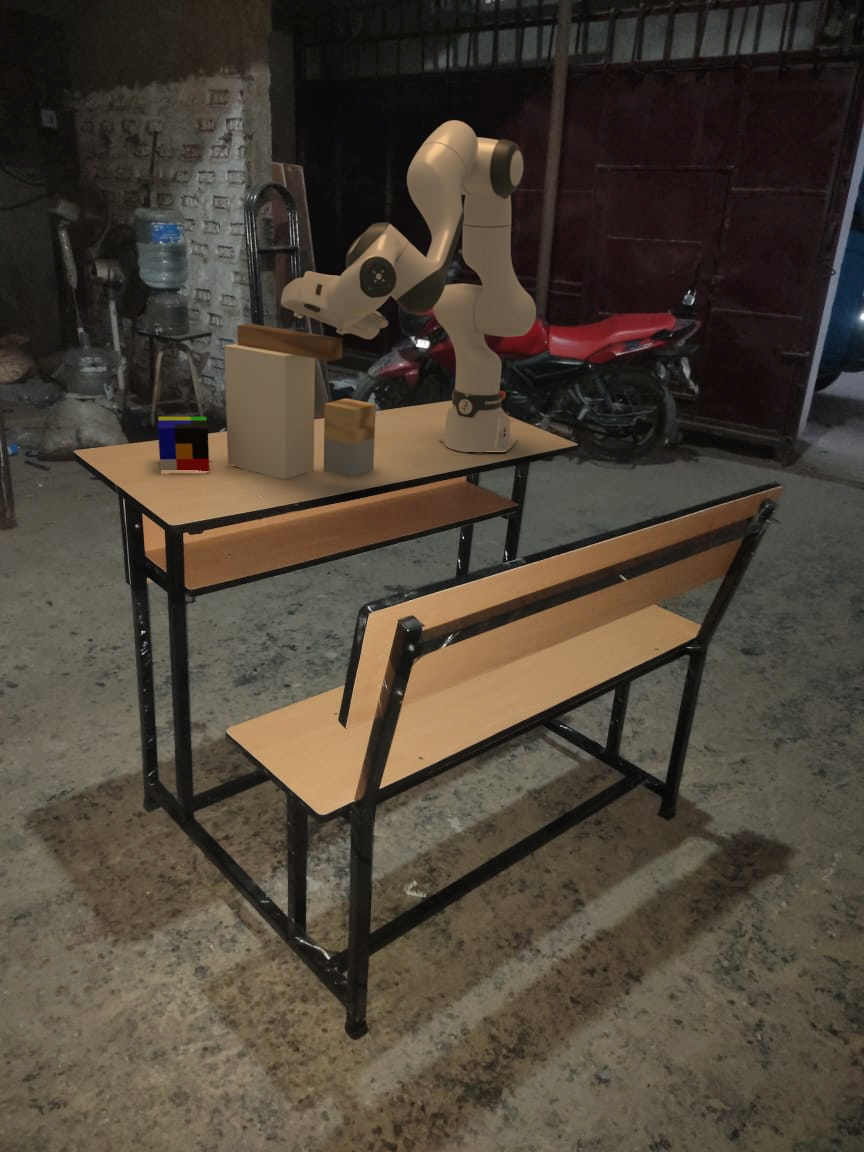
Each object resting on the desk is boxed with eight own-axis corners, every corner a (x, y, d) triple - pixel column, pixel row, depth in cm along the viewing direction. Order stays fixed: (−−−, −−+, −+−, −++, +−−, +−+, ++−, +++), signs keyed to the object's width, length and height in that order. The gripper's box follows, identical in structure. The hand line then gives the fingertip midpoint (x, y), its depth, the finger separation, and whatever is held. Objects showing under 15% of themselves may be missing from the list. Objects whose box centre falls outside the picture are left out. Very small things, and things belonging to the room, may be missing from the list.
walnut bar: (250, 342, 185) (249, 323, 183) (341, 358, 175) (342, 338, 173) (237, 344, 182) (237, 325, 180) (330, 360, 171) (330, 340, 170)
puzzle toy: (160, 474, 181) (157, 428, 177) (161, 461, 190) (158, 416, 186) (209, 473, 184) (207, 428, 180) (207, 460, 193) (206, 416, 189)
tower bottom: (344, 463, 198) (344, 431, 195) (373, 469, 194) (374, 437, 191) (323, 470, 191) (324, 437, 188) (353, 477, 188) (354, 444, 185)
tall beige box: (257, 456, 198) (255, 341, 188) (313, 469, 191) (315, 351, 181) (228, 465, 190) (224, 345, 180) (285, 479, 183) (285, 356, 173)
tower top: (344, 431, 195) (345, 398, 192) (374, 437, 191) (375, 404, 188) (324, 437, 188) (324, 403, 185) (354, 444, 185) (355, 410, 182)
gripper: (395, 306, 170) (366, 325, 183) (299, 267, 161) (276, 289, 173) (388, 336, 170) (361, 353, 182) (292, 298, 160) (269, 318, 173)
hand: (319, 322), depth 178 cm, fingers open, 8 cm apart
